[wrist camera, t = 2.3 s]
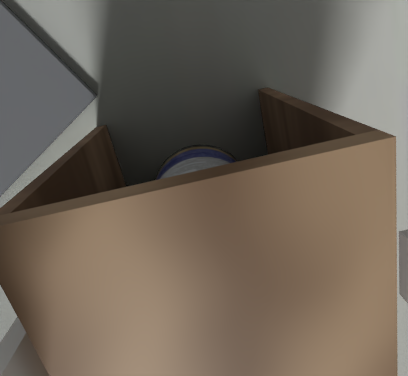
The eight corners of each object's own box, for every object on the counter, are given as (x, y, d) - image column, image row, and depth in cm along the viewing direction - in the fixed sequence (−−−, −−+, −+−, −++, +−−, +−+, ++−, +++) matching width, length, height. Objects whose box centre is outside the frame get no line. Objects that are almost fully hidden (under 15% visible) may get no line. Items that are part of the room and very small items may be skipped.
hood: (144, 269, 25) (107, 483, 12) (96, 127, 21) (-28, 232, 9) (289, 238, 25) (397, 423, 12) (267, 87, 21) (396, 136, 8)
